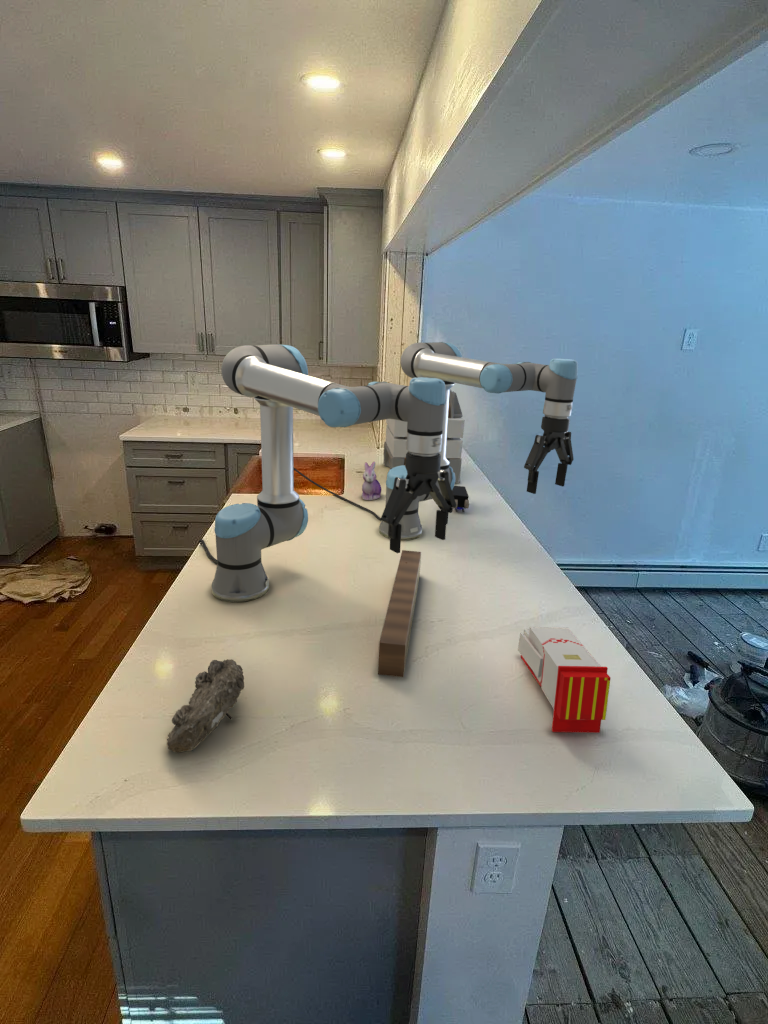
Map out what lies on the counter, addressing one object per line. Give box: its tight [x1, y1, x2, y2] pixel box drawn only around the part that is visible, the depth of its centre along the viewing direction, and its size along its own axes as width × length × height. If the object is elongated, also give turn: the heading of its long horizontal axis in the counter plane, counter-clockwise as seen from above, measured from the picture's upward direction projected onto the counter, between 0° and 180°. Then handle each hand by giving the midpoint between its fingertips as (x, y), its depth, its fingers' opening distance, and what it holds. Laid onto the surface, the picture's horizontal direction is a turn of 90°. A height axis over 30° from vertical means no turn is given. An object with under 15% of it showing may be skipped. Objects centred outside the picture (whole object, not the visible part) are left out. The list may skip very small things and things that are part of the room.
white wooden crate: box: [383, 389, 465, 484], centre depth 268 cm, size 34×33×41 cm
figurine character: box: [452, 485, 470, 513], centre depth 227 cm, size 7×8×15 cm
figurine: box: [361, 461, 382, 501], centre depth 234 cm, size 9×10×15 cm
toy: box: [517, 626, 611, 734], centre depth 119 cm, size 12×13×30 cm
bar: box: [377, 549, 422, 678], centre depth 144 cm, size 50×6×8 cm, turn 173°
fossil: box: [166, 658, 245, 754], centre depth 106 cm, size 22×10×15 cm
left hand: (418, 544), depth 128 cm, fingers open, 13 cm apart
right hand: (545, 488), depth 165 cm, fingers open, 13 cm apart
